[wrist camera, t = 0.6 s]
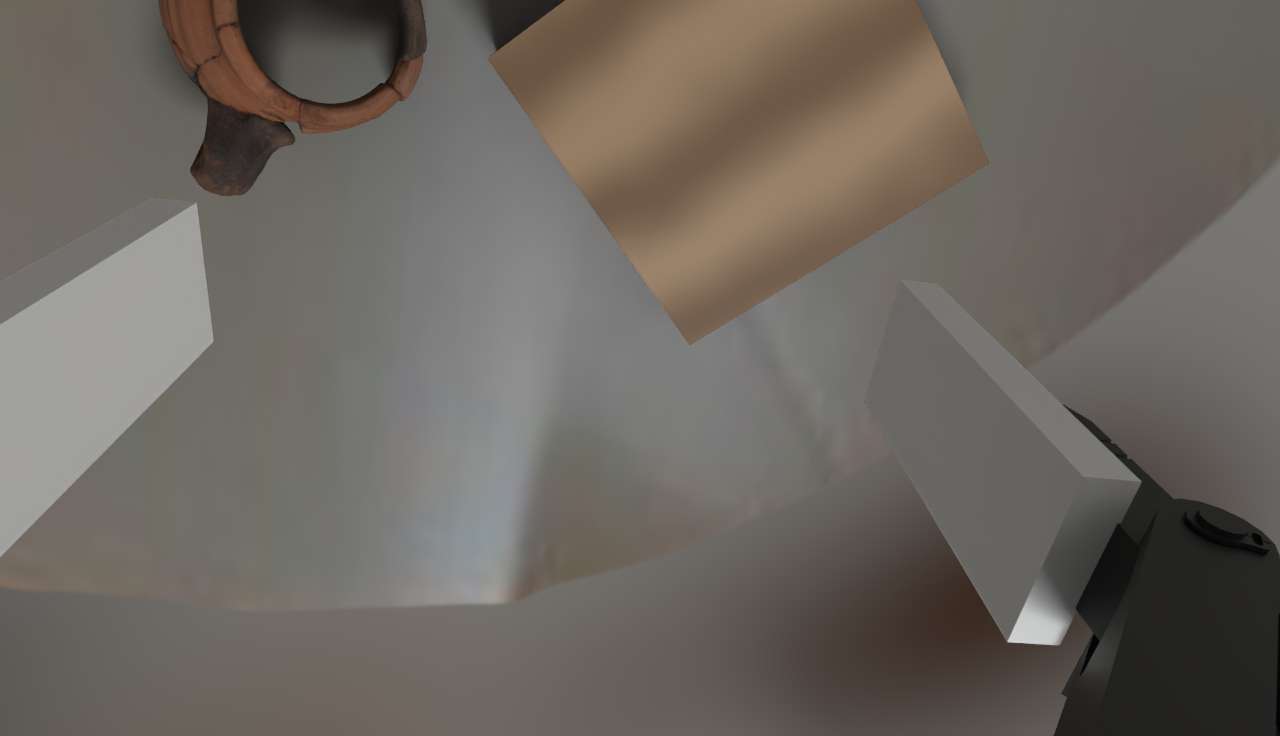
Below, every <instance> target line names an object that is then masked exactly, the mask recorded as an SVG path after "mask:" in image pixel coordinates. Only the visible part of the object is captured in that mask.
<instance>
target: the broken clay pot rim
mask: <svg viewBox="0 0 1280 736" xmlns="http://www.w3.org/2000/svg"><path fill="white" fill-rule="evenodd" d="M395 3H396V8H397V12H398V19H399V45H398V56H399V59H398V62H397V64H396V66H395V68H394V70H393V72H392V74H391V76H390V77H389V78H388V80H387V81H386V82H385V84H384V83H380V84H379V85H378V86H377V87H376V88H374V89H373V90H372V91H370V92H369V93H367V94H366V95H364V96H362V97H360V98H358V99H355V100H353V101H349V102H345V103H336V104H326V103H317V102H313V101H310V100H307V99H301V98H299V97H297V96H295V95H293V94H291V93H289V92H288V91H286V90H285V89H283V88H282V87H281V86H279V85H278V84H277V83H276V82H275V81H273V80H272V79H271V78H270V77H269V76H268V75H267V74H266V73H265V72H264V71H263V70H262V68H261V67H260V66H259V65H258V63H257V62H256V61H255V59H254V57H253V56H252V54H251V52H250V51H249V49H248V47H247V45H246V42H245V40H244V37H243V34H242V31H241V28H240V24H239V17H238V9H237V0H159V7H160V13H161V17H162V21H163V26H164V28H165V29H166V31H167V34H168V37H169V40H170V43H171V45H172V48H173V50H174V52H175V54H176V56H177V58H178V60H179V62H180V64H181V65H182V67H183V69H184V70H185V72H186V74H187V75H188V76H189V78H190V79H191V80H192V82H194V83H195V84H196V85H197V86H198V87H199V88H200V90H201V91H202V92H203V93H204V95H205V96H206V97H207V99H208V116H207V126H206V133H205V138H204V141H203V143H202V145H201V147H200V150H199V152H198V154H197V156H196V158H195V160H194V162H193V165H192V166H191V169H190V172H191V174H192V176H193V177H194V178H195V179H196V181H197V182H198V184H199V185H200V186H202V187H203V189H204V190H206V191H209V192H211V193H215V194H218V195H221V196H232V195H242V194H245V193H246V192H247V191H248V190H249V189H250V188H251V187H252V185H253V184H254V182H255V181H256V179H257V177H258V176H259V175H260V173H261V172H262V170H263V168H264V167H265V165H266V163H267V161H268V159H269V157H270V156H271V155H272V154H273V152H275V151H276V150H277V149H279V148H280V147H283V146H287V145H292V144H293V143H294V142H295V137H294V135H293V134H292V132H291V130H290V129H289V128H288V127H287V126H286V125H285V124H284V122H285V121H294V122H298V123H299V126H300V130H301V132H302V133H306V134H315V133H325V132H331V131H338V130H345V129H348V128H351V127H354V126H357V125H360V124H362V123H364V122H367V121H369V120H372V119H375V118H377V117H379V116H381V115H382V114H383V113H385V112H386V111H387V110H388V109H390V108H391V107H392V106H393V105H394V104H395V103H396V102H397V101H398V100H400V101H404V100H405V99H406V98H407V97H408V96H409V95H410V93H411V92H412V90H413V88H414V86H415V84H416V82H417V79H418V77H419V74H420V71H421V68H422V64H423V53H424V52H425V51H426V46H427V38H426V28H425V20H424V14H423V8H422V4H421V0H395Z"/></svg>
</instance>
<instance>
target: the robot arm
mask: <svg viewBox="0 0 1280 736" xmlns="http://www.w3.org/2000/svg"><path fill="white" fill-rule="evenodd" d="M212 342H213V333H212V325H211V317H210V309H209V301H208V292H207V284H206V276H205V268H204V260H203V251H202V243H201V235H200V227H199V219H198V211H197V203H195V202H186V201H177V200H167V199H158V198H150V199H148V200H146V201H145V202H143V203H141V204H139V205H137V206H135V207H134V208H132V209H130V210H128V211H126V212H124V213H123V214H121V215H119V216H117V217H115V218H113V219H112V220H110V221H108V222H106V223H104V224H102V225H101V226H99V227H97V228H95V229H93V230H91V231H90V232H88V233H86V234H84V235H82V236H81V237H79V238H77V239H75V240H73V241H71V242H70V243H68V244H66V245H64V246H62V247H60V248H59V249H57V250H55V251H53V252H51V253H49V254H48V255H46V256H44V257H42V258H40V259H38V260H37V261H35V262H33V263H31V264H29V265H27V266H26V267H24V268H22V269H20V270H18V271H17V272H15V273H13V274H11V275H9V276H7V277H6V278H4V279H2V280H0V557H1V556H2V555H3V554H4V553H5V552H6V551H7V550H8V548H9V547H10V546H11V545H12V544H13V543H14V542H15V541H16V540H17V539H18V538H19V537H20V536H21V535H22V534H23V533H24V532H25V531H26V530H27V529H28V528H29V527H30V526H31V525H32V524H33V523H34V522H35V521H36V520H37V519H38V518H39V517H40V516H41V515H42V514H43V513H44V512H45V511H46V510H47V509H48V508H49V507H50V506H51V505H52V504H53V503H54V502H55V501H56V500H57V499H58V498H59V497H60V496H61V495H62V494H63V493H64V492H65V491H66V490H67V489H68V488H69V487H70V486H71V485H72V484H73V483H74V482H75V481H76V480H77V479H78V478H79V477H80V476H81V475H82V474H83V473H84V472H85V471H86V470H87V469H88V468H89V467H90V466H91V465H92V464H93V463H94V462H95V461H96V460H97V459H98V458H99V457H100V456H101V455H102V454H103V453H104V452H105V451H106V450H107V448H108V447H109V446H110V445H111V444H112V443H113V442H114V441H115V440H116V439H117V438H118V437H119V436H120V435H121V434H122V433H123V432H124V431H125V430H126V429H127V428H128V427H129V426H130V425H131V424H132V423H133V422H134V421H135V420H136V419H137V418H138V417H139V416H140V415H141V414H142V413H143V412H144V411H145V410H146V409H147V408H148V407H149V406H150V405H151V404H152V403H153V402H154V401H155V400H156V399H157V398H158V397H159V396H160V395H161V394H162V393H163V392H164V391H165V390H166V389H167V388H168V387H169V386H170V385H171V384H172V383H173V382H174V381H175V380H176V379H177V378H178V377H179V376H180V375H181V374H182V373H183V372H184V371H185V370H186V369H187V368H188V367H189V366H190V365H191V364H192V363H193V362H194V361H195V360H196V359H197V358H198V357H199V356H200V355H201V354H202V353H203V352H204V351H205V349H206V348H207V347H208V346H209V345H210V344H211V343H212ZM864 403H865V404H866V406H867V408H868V409H869V411H870V413H871V414H872V416H873V418H874V419H875V421H876V423H877V424H878V426H879V428H880V429H881V431H882V433H883V434H884V436H885V438H886V440H887V441H888V443H889V445H890V446H891V448H892V450H893V451H894V453H895V455H896V456H897V458H898V460H899V461H900V463H901V465H902V466H903V468H904V470H905V471H906V473H907V475H908V476H909V478H910V480H911V481H912V483H913V485H914V486H915V488H916V490H917V491H918V493H919V495H920V496H921V498H922V500H923V502H924V503H925V505H926V506H927V508H928V510H929V512H930V513H931V515H932V517H933V518H934V520H935V521H936V523H937V525H938V527H939V528H940V530H941V532H942V533H943V535H944V537H945V538H946V540H947V542H948V543H949V545H950V547H951V548H952V550H953V552H954V553H955V555H956V557H957V558H958V560H959V562H960V564H961V565H962V567H963V568H964V570H965V572H966V573H967V575H968V577H969V579H970V580H971V582H972V584H973V585H974V587H975V589H976V590H977V592H978V594H979V595H980V597H981V599H982V600H983V602H984V604H985V605H986V607H987V609H988V610H989V612H990V614H991V616H992V617H993V619H994V620H995V622H996V624H997V626H998V627H999V629H1000V631H1001V632H1002V634H1003V635H1004V637H1005V639H1006V640H1007V642H1016V643H1032V644H1048V645H1060V644H1061V642H1062V639H1063V638H1064V635H1065V634H1066V632H1067V630H1068V628H1069V626H1070V624H1071V622H1072V620H1073V618H1074V616H1075V614H1076V612H1077V611H1078V612H1079V614H1080V615H1081V616H1082V618H1083V619H1084V621H1085V622H1086V623H1087V625H1088V626H1089V627H1090V629H1091V630H1092V632H1093V634H1092V636H1091V638H1090V640H1089V642H1088V644H1087V646H1086V648H1085V650H1084V652H1083V653H1082V655H1081V657H1080V659H1079V661H1078V663H1077V665H1076V667H1075V669H1074V670H1073V673H1072V674H1071V676H1070V678H1069V680H1068V682H1067V684H1066V686H1065V688H1064V690H1063V691H1062V693H1061V694H1063V695H1064V696H1066V697H1067V699H1066V702H1065V705H1064V708H1063V710H1062V713H1061V716H1060V719H1059V722H1058V725H1057V728H1056V731H1055V733H1054V736H1280V556H1279V553H1278V551H1277V548H1276V546H1275V544H1274V543H1273V542H1272V541H1271V540H1270V539H1269V538H1268V537H1267V536H1266V535H1265V534H1264V533H1263V532H1262V531H1260V530H1259V529H1257V528H1256V527H1254V526H1253V525H1251V524H1250V523H1248V522H1247V521H1245V520H1244V519H1242V518H1240V517H1238V516H1236V515H1234V514H1231V513H1229V512H1227V511H1225V510H1223V509H1221V508H1218V507H1214V506H1212V505H1209V504H1205V503H1202V502H1199V501H1193V500H1186V499H1173V498H1172V497H1171V496H1170V495H1169V494H1168V493H1167V492H1166V491H1165V490H1164V489H1163V488H1161V487H1160V486H1159V485H1158V484H1157V483H1156V482H1155V481H1154V480H1153V479H1152V478H1151V477H1150V476H1149V475H1148V474H1146V473H1145V472H1144V471H1143V470H1142V469H1141V468H1140V467H1139V466H1138V465H1137V464H1136V463H1135V462H1134V461H1133V460H1132V459H1127V454H1125V453H1124V452H1123V451H1122V450H1121V449H1120V448H1119V447H1118V446H1117V445H1116V444H1112V443H1111V439H1110V438H1109V437H1107V436H1106V435H1105V434H1104V433H1103V432H1102V431H1101V430H1100V429H1099V428H1098V427H1097V426H1096V425H1095V424H1094V423H1093V422H1092V421H1090V420H1088V419H1086V418H1085V417H1083V416H1082V415H1080V414H1078V413H1076V412H1075V411H1073V410H1071V409H1070V408H1068V407H1067V406H1065V405H1063V404H1061V403H1060V402H1059V401H1058V400H1057V399H1056V398H1055V397H1054V396H1053V395H1052V394H1051V393H1050V392H1049V391H1048V390H1047V389H1045V387H1043V386H1042V385H1041V384H1040V383H1039V382H1038V381H1037V380H1036V379H1035V378H1034V377H1033V376H1032V375H1031V374H1030V373H1029V372H1028V371H1027V370H1026V369H1025V368H1024V367H1023V366H1022V365H1021V364H1020V363H1019V362H1018V361H1017V360H1016V359H1015V358H1014V357H1013V356H1011V355H1010V354H1009V353H1008V352H1007V351H1006V350H1005V349H1004V348H1003V347H1002V346H1001V345H1000V344H999V343H998V342H997V341H996V340H995V339H994V338H993V337H992V336H991V335H990V334H989V333H988V332H987V331H986V330H985V329H984V328H983V327H982V326H980V325H979V324H978V323H977V322H976V321H975V320H974V319H973V318H972V317H971V316H970V315H969V314H968V313H967V312H966V311H965V310H964V309H963V308H962V307H961V306H960V305H959V304H958V303H957V302H956V301H955V300H954V299H953V298H952V297H951V296H949V295H948V294H947V293H946V292H945V291H944V290H943V289H942V288H941V287H940V286H939V285H938V284H934V283H925V282H916V281H906V280H900V282H899V285H898V289H897V292H896V296H895V299H894V302H893V306H892V309H891V312H890V316H889V319H888V323H887V326H886V329H885V333H884V336H883V340H882V343H881V346H880V350H879V353H878V356H877V360H876V363H875V367H874V370H873V373H872V377H871V380H870V383H869V387H868V390H867V394H866V397H865V400H864Z"/></svg>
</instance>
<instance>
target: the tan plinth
mask: <svg viewBox="0 0 1280 736" xmlns="http://www.w3.org/2000/svg"><path fill="white" fill-rule="evenodd" d="M488 60H489V61H490V63H491V64H492V66H493V67H494V68H495V70H496V71H497V73H498V74H499V75H500V77H501V78H502V80H503V81H504V83H505V84H506V85H507V87H508V88H509V90H510V91H511V92H512V94H513V95H514V97H515V98H516V100H517V101H518V102H519V104H520V105H521V107H522V108H523V109H524V111H525V112H526V114H527V115H528V117H529V118H530V119H531V121H532V122H533V124H534V125H535V126H536V128H537V129H538V131H539V132H540V134H541V135H542V136H543V138H544V139H545V141H546V142H547V144H548V145H549V146H550V148H551V149H552V151H553V152H554V153H555V155H556V156H557V158H558V159H559V161H560V162H561V163H562V165H563V166H564V168H565V169H566V170H567V172H568V173H569V175H570V176H571V178H572V179H573V180H574V182H575V183H576V185H577V186H578V187H579V189H580V190H581V192H582V193H583V195H584V196H585V197H586V199H587V200H588V202H589V203H590V204H591V206H592V207H593V209H594V210H595V212H596V213H597V214H598V216H599V217H600V219H601V220H602V221H603V223H604V224H605V226H606V227H607V229H608V230H609V231H610V233H611V234H612V236H613V237H614V239H615V240H616V241H617V243H618V244H619V246H620V247H621V248H622V250H623V251H624V253H625V254H626V256H627V257H628V258H629V260H630V261H631V263H632V264H633V265H634V267H635V268H636V270H637V271H638V273H639V274H640V275H641V277H642V278H643V280H644V281H645V282H646V284H647V285H648V287H649V288H650V290H651V291H652V292H653V294H654V295H655V297H656V298H657V299H658V301H659V302H660V304H661V305H662V307H663V308H664V309H665V311H666V312H667V314H668V315H669V316H670V318H671V319H672V321H673V322H674V324H675V325H676V326H677V328H678V329H679V331H680V332H681V334H682V335H683V336H684V338H685V339H686V341H687V342H688V343H689V345H691V344H693V343H694V342H696V341H698V340H699V339H701V338H703V337H704V336H706V335H708V334H709V333H711V332H713V331H714V330H716V329H717V328H719V327H721V326H722V325H724V324H726V323H727V322H729V321H731V320H732V319H734V318H736V317H737V316H739V315H741V314H742V313H744V312H745V311H747V310H749V309H750V308H752V307H754V306H755V305H757V304H759V303H760V302H762V301H764V300H765V299H767V298H769V297H770V296H772V295H773V294H775V293H777V292H778V291H780V290H782V289H783V288H785V287H787V286H788V285H790V284H792V283H793V282H795V281H796V280H798V279H800V278H801V277H803V276H805V275H806V274H808V273H810V272H811V271H813V270H815V269H816V268H818V267H820V266H821V265H823V264H824V263H826V262H828V261H829V260H831V259H833V258H834V257H836V256H838V255H839V254H841V253H843V252H844V251H846V250H848V249H849V248H851V247H852V246H854V245H856V244H857V243H859V242H861V241H862V240H864V239H866V238H867V237H869V236H871V235H872V234H874V233H876V232H877V231H879V230H880V229H882V228H884V227H885V226H887V225H889V224H890V223H892V222H894V221H895V220H897V219H899V218H900V217H902V216H904V215H905V214H907V213H908V212H910V211H912V210H913V209H915V208H917V207H918V206H920V205H922V204H923V203H925V202H927V201H928V200H930V199H931V198H933V197H935V196H936V195H938V194H940V193H941V192H943V191H945V190H946V189H948V188H950V187H951V186H953V185H955V184H956V183H958V182H959V181H961V180H963V179H964V178H966V177H968V176H969V175H971V174H973V173H974V172H976V171H978V170H979V169H981V168H983V167H984V166H986V165H987V164H989V160H988V158H987V156H986V154H985V152H984V149H983V147H982V145H981V143H980V141H979V138H978V136H977V134H976V132H975V129H974V127H973V125H972V123H971V121H970V118H969V116H968V114H967V112H966V110H965V107H964V105H963V103H962V101H961V98H960V96H959V94H958V92H957V90H956V87H955V85H954V83H953V81H952V79H951V76H950V74H949V72H948V70H947V68H946V65H945V63H944V61H943V59H942V56H941V54H940V52H939V50H938V48H937V45H936V43H935V41H934V39H933V37H932V34H931V32H930V30H929V28H928V25H927V23H926V21H925V19H924V17H923V14H922V12H921V10H920V8H919V6H918V3H917V1H916V0H564V1H563V2H561V3H560V4H559V5H557V6H556V7H555V8H553V9H552V10H551V11H549V12H548V13H547V14H545V15H544V16H543V17H541V18H540V19H539V20H537V21H536V22H535V23H533V24H532V25H531V26H529V27H528V28H527V29H525V30H524V31H523V32H521V33H520V34H519V35H517V36H516V37H515V38H513V39H512V40H511V41H509V42H508V43H507V44H505V45H504V46H503V47H501V48H500V49H498V50H497V51H496V52H495V53H493V54H492V55H491V56H490V57H488Z"/></svg>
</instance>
